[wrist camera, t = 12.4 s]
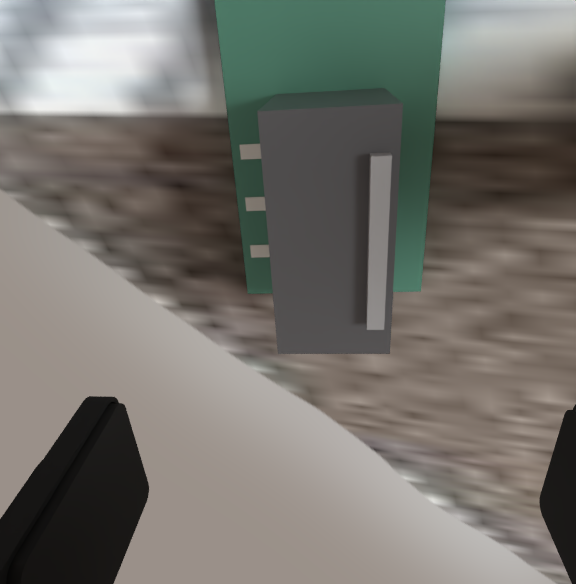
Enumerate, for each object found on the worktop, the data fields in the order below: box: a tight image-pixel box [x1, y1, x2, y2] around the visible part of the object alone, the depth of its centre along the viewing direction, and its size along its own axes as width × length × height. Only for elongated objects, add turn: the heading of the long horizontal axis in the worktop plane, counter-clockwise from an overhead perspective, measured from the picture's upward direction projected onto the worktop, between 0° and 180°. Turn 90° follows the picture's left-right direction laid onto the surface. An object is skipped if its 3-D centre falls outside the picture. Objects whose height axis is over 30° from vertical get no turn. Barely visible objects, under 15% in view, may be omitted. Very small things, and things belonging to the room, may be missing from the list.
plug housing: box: [257, 88, 403, 354], centre depth 23 cm, size 12×6×8 cm, turn 3°
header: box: [214, 0, 446, 294], centre depth 24 cm, size 18×11×6 cm, turn 3°
